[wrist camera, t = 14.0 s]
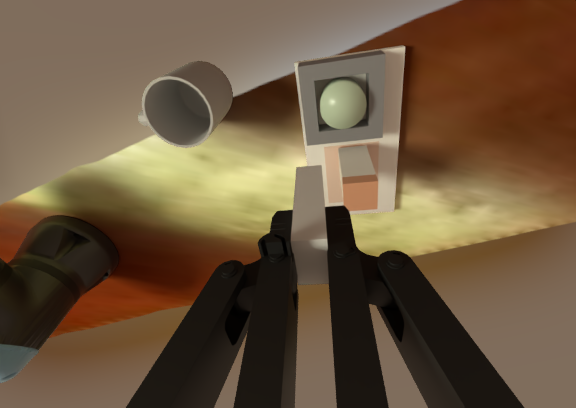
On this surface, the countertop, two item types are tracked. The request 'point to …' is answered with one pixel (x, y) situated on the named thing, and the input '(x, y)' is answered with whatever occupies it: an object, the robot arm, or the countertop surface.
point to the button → (342, 103)
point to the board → (387, 128)
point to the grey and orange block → (357, 178)
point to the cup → (186, 104)
